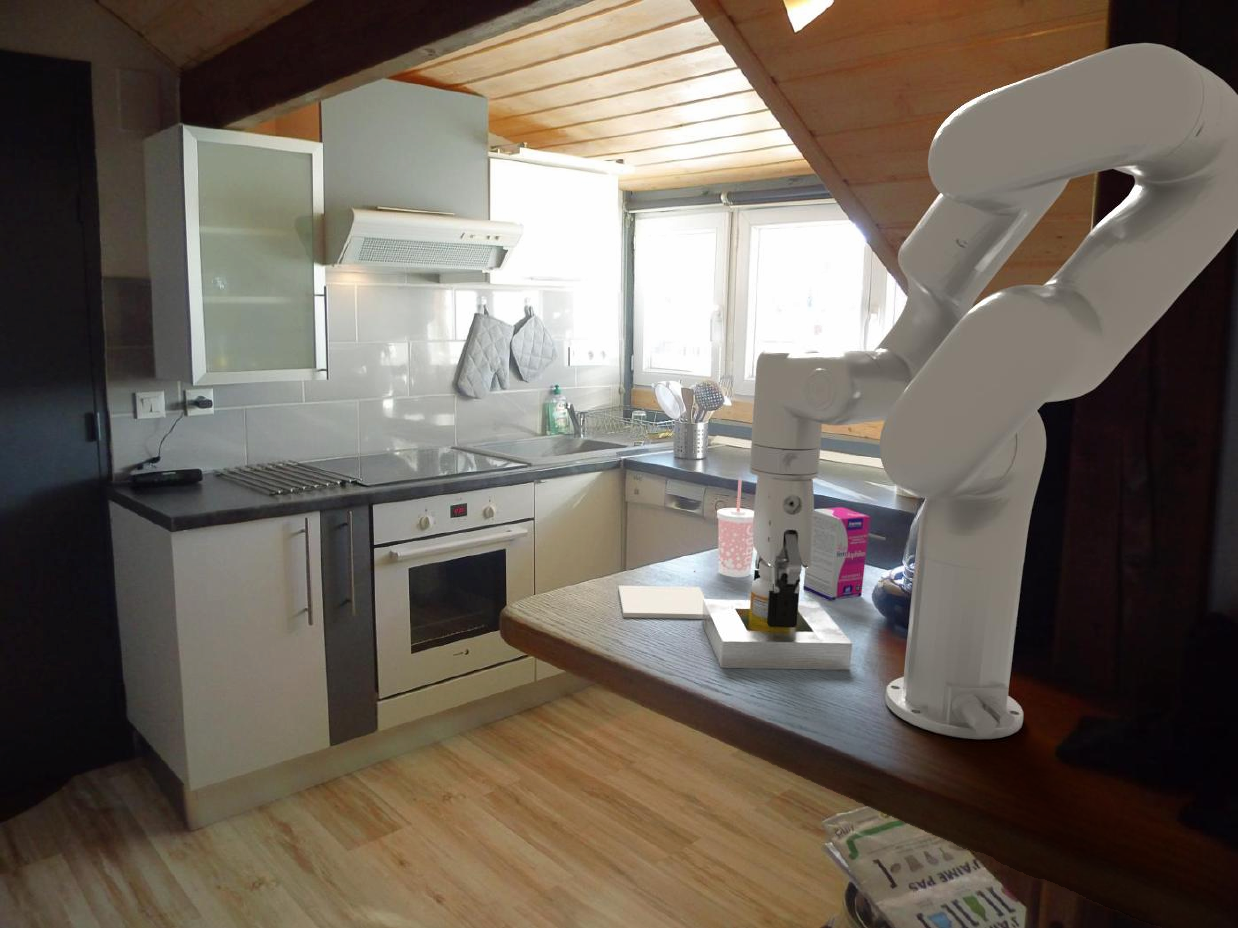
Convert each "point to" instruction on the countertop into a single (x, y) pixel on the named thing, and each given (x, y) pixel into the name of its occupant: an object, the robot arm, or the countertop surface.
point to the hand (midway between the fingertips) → (773, 613)
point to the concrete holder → (775, 639)
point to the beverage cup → (735, 539)
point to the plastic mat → (661, 602)
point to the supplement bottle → (763, 600)
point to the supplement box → (837, 553)
